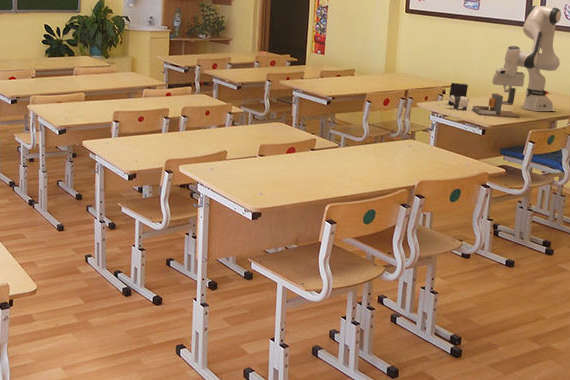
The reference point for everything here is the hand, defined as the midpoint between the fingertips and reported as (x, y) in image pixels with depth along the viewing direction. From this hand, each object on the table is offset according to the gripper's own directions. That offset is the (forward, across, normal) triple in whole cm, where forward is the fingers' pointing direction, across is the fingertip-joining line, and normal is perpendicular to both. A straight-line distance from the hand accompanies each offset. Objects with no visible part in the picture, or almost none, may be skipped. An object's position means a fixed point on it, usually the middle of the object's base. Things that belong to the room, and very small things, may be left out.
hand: (506, 92), depth 540 cm
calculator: (+15, +26, -22) cm, 37 cm away
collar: (+10, +9, 0) cm, 13 cm away
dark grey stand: (+15, +6, 0) cm, 16 cm away
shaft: (+8, +1, 0) cm, 8 cm away
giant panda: (+15, +29, -8) cm, 33 cm away
